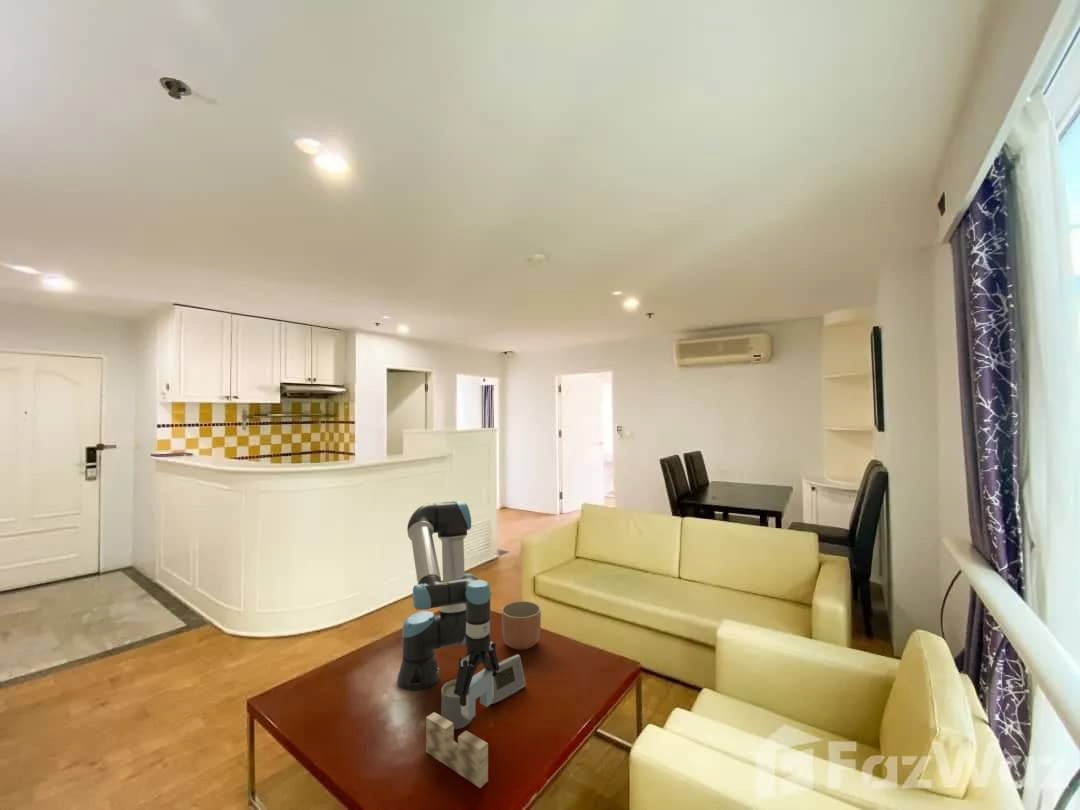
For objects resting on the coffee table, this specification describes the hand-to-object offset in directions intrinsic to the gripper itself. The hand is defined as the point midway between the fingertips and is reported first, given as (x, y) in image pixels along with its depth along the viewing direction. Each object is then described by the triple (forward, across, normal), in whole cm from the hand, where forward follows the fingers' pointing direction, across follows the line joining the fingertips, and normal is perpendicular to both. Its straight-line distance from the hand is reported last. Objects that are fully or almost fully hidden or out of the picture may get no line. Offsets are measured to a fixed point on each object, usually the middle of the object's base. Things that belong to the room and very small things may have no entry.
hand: (477, 705), depth 139 cm
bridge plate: (+1, 0, 0) cm, 1 cm away
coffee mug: (+10, +2, +12) cm, 16 cm away
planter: (+11, +52, +24) cm, 58 cm away
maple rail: (+9, -12, -4) cm, 16 cm away
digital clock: (+10, +21, +7) cm, 25 cm away
